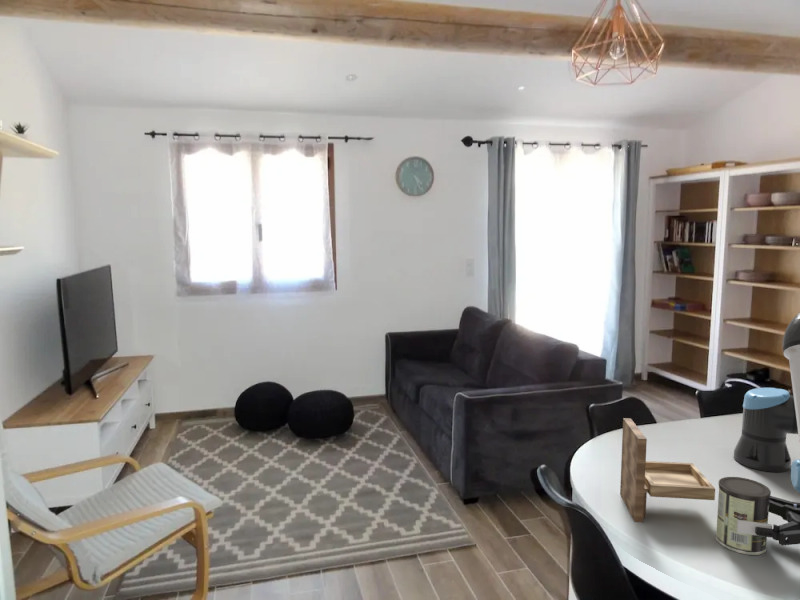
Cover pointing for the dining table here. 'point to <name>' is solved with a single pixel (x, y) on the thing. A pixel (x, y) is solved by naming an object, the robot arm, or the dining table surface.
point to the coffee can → (741, 513)
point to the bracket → (655, 475)
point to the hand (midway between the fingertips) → (729, 511)
